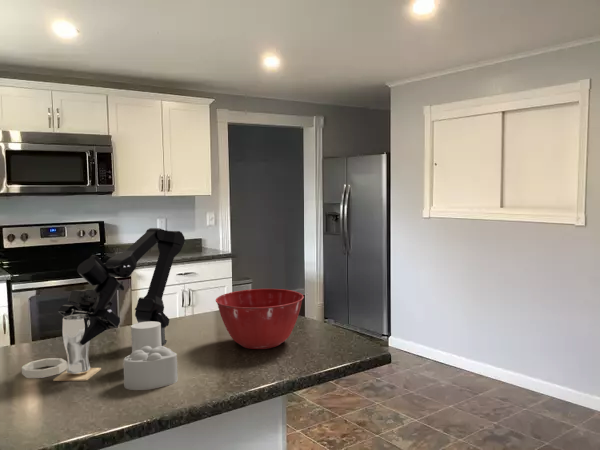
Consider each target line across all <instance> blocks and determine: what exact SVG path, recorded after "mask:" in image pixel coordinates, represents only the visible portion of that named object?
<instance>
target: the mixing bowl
mask: <svg viewBox="0 0 600 450" xmlns="http://www.w3.org/2000/svg"><path fill="white" fill-rule="evenodd" d="M304 298H305V297H304V294H302V293H301V292H298V291H295V290H290V289H283V288H282V289H280V288H254V289H253V288H252V289H244V290H243V289H242V290H238V291H237V290H236V291H231V292H227V293H224V294H221V295H219V296H218V297H216V299H215V302H216V305H217V308H218V311H219V314H220V317H221V319H222V322H223V324H224V327H225V328H226V330H227V332H228V335H230V337H231V339H232V340H233V341H234V342H235V343H237V344H238V345H240V346H241V347H243V348H245V349H251V350H266V349H272V348H276V347H278V346H280V345H282V343H284V342H286V340H287V339H289V337H290V336H291V334H292V332H293V330H294V328H295V326H296V323H297V321H298V317H299V315H300V311H301V307H302V303H303V299H304Z"/></svg>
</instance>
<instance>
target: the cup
mask: <svg viewBox="0 0 600 450" xmlns="http://www.w3.org/2000/svg"><path fill="white" fill-rule="evenodd" d="M130 329H131V330H130V335H131V353H132V352H133V351H135V350H140V349H141V348H142V347H144V346H150V347H151V348H152V349H153V348H156V347H158V346H162V344H161V323H160V322H154V321H148V322H140V323H138V322H136V323H133V324H132V325H131V326H130Z"/></svg>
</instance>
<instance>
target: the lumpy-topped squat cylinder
mask: <svg viewBox="0 0 600 450" xmlns="http://www.w3.org/2000/svg"><path fill="white" fill-rule="evenodd" d="M177 354H178V353H176V352H174V351H173V350H172V349H171V348H169V347H166V346H164V345H163V346H158V347H156V348H153V349H152V348H151V347H150V346H144V347H142V348H141V349H140V350H135V351H133V352H132V351H131V353H130V354H129V355H127V356H125V357H124V358H123V383H124V384H123V386H124V389H126V390H131V391H146V390H154V389H159V388H162V387H166V386H170V385H174V384H175V383H177V382H178V380H179V378H178V357H177V356H178V355H177ZM173 383H174V384H173Z"/></svg>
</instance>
